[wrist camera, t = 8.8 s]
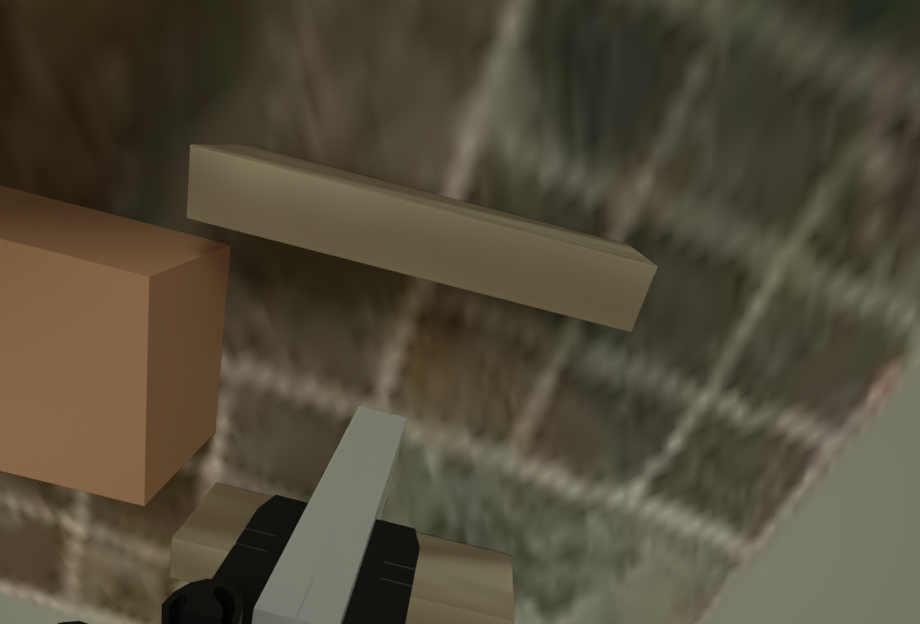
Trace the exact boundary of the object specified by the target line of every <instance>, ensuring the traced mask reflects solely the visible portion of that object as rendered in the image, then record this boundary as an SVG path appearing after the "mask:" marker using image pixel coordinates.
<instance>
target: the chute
mask: <svg viewBox="0 0 920 624" xmlns="http://www.w3.org/2000/svg"><path fill="white" fill-rule="evenodd" d="M187 218H189V219H193V220H197V221H200V222H204V223H208V224H212V225H216V226H220V227H224V228H228V229H232V230H235V231H239V232H243V233H247V234H251V235H255V236H259V237H263V238H267V239H271V240H274V241H278V242H282V243H286V244H290V245H294V246H298V247H302V248H306V249H309V250H313V251H317V252H321V253H325V254H329V255H333V256H337V257H341V258H344V259H348V260H352V261H356V262H360V263H364V264H368V265H372V266H376V267H380V268H383V269H387V270H391V271H395V272H399V273H403V274H407V275H411V276H415V277H418V278H422V279H426V280H430V281H434V282H438V283H442V284H446V285H450V286H453V287H457V288H461V289H465V290H469V291H473V292H477V293H481V294H485V295H489V296H492V297H496V298H500V299H504V300H508V301H512V302H516V303H520V304H524V305H527V306H531V307H535V308H539V309H543V310H547V311H551V312H555V313H559V314H562V315H566V316H570V317H574V318H578V319H582V320H586V321H590V322H594V323H598V324H601V325H605V326H609V327H613V328H617V329H621V330H625V331H629V332H631V331H632V329H633V327H634V324H635V322H636V319H637V317H638V314H639V312H640V309H641V307H642V304H643V302H644V299H645V297H646V294H647V292H648V289H649V287H650V284H651V282H652V279H653V277H654V274H655V272H656V269H657V267H658V266H657V265H655V264H654V263H653V262H651V261H650V260H649V259H647V258H646V257H645V256H643V255H642V254H640V253H639V252H638V251H636V250H635V249H634V248H632V247H631V246H630V245H628V244H625V243H621V242H617V241H613V240H609V239H605V238H602V237H598V236H594V235H590V234H586V233H582V232H579V231H575V230H571V229H567V228H563V227H559V226H556V225H552V224H548V223H544V222H540V221H536V220H532V219H529V218H525V217H521V216H517V215H513V214H509V213H506V212H502V211H498V210H494V209H490V208H486V207H483V206H479V205H475V204H471V203H467V202H463V201H460V200H456V199H452V198H448V197H444V196H440V195H437V194H433V193H429V192H425V191H421V190H417V189H413V188H410V187H406V186H402V185H398V184H394V183H390V182H387V181H383V180H379V179H375V178H371V177H367V176H364V175H360V174H356V173H352V172H348V171H344V170H341V169H337V168H333V167H329V166H325V165H321V164H318V163H314V162H310V161H306V160H302V159H298V158H294V157H291V156H287V155H283V154H279V153H275V152H271V151H268V150H264V149H260V148H256V147H252V146H248V145H190V157H189V178H188V200H187ZM271 498H272V497H271V496H267V495H263V494H259V493H255V492H251V491H247V490H243V489H239V488H234V487H230V486H226V485H222V484H218V483H216V484H215V486H214V487H213V488H212V489H211V490H210V492H209V493H208V494H207V495H206V497H205V498H204V499H203V500H202V501H201V503H200V504H199V505H198V506H197V508H196V509H195V510H194V511H193V512H192V514H191V515H190V516H189V517H188V519H187V520H186V521H185V522H184V524H183V525H182V526H181V527H180V528H179V530H178V531H177V532H176V533H175V535H174V536H173V537H172V542H171V564H170V578H175V579H179V580H183V581H187V582H195V581H199V580H203V579H212V578H213V576H214V575H215V573H216V572H217V570H218V569H219V567H220V565H221V564H222V562H223V561H224V559H225V558H226V556H227V555H228V553H229V552H230V550H231V548H232V547H233V545H235V544H236V541H237V539H238V538H239V536H240V535H241V533H242V532H243V530H245V528H246V525H247V524H248V522H249V521H250V519H251V518H252V516H253V515H254V513H255V511H256V510H257V508H259V507H260V506H261V505H263V504H264V503H265V502H267V501H268V500H269V499H271ZM416 534H417V538H418V542H419V546H420V550H419V556H418V561H417V566H416V570H415V576H414V581H413V586H412V592H411V597H410V602H409V607H408V612H407V617H406V623H405V624H514V622H515V619H514V596H513V574H512V556H511V555H507V554H502V553H498V552H494V551H490V550H486V549H482V548H478V547H474V546H470V545H466V544H462V543H458V542H454V541H450V540H446V539H442V538H438V537H433V536H429V535H425V534H421V533H417V532H416Z"/></svg>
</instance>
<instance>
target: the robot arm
mask: <svg viewBox="0 0 920 624" xmlns="http://www.w3.org/2000/svg"><path fill="white" fill-rule="evenodd" d="M406 421H407V418H406V417H402V416H398V415H394V414H390V413H386V412H383V411H379V410H375V409H371V408H367V407H363V406H359V407H358V409H357V410H356V412H355V414H354V416H353V418H352V420H351V422H350V424H349V426H348V428H347V430H346V432H345V434H344V435H343V437H342V439H341V441H340V443H339V445H338V447H337V449H336V451H335V453H334V455H333V457H332V459H331V461H330V462H329V464H328V466H327V468H326V470H325V472H324V474H323V476H322V478H321V480H320V482H319V484H318V486H317V487H316V489H315V491H314V493H313V495H312V497H311V499H310V501H309V503H306V502H302V501H298V500H294V499H290V498H286V497H283V496H279V495H275V496H274V497H272V498H271V499H269V500H268V501H267V502H265V503H264V504H263V505H261V506H260V507H259V508H257V510H256V511H255V513H254V515H253V516H252V518H251V519H250V521H249V522H248V524H247V525H246V528H245V530H243V532H242V533H241V535H240V536H239V538H238V539H237V541H236V544H235V545H233V547H232V548H231V550H230V552H229V553H228V555H227V556H226V558H225V559H224V561H223V562H222V564H221V565H220V567H219V569H218V570H217V572H216V573H215V575H214V576H213V578H212V579H203V580H199V581H195V582H191V583H189V584H187V585H185V586H183V587H182V588H180V589H178V590H176V591H175V592H174V593H173V594H172V595H171V596H170V597H169V598H168V599H167V600H166V601H165V602H164V603H163V604H162V624H405V623H406V617H407V612H408V607H409V602H410V597H411V592H412V586H413V581H414V576H415V570H416V566H417V561H418V556H419V550H420V546H419V542H418V538H417V534H416V530H415V529H414V528H410V527H406V526H402V525H398V524H394V523H390V522H386V521H382V520H380V519H381V516H382V513H383V509H384V506H385V503H386V500H387V497H388V493H389V490H390V487H391V483H392V479H393V474H394V470H395V466H396V462H397V458H398V454H399V450H400V446H401V442H402V437H403V433H404V429H405V425H406ZM58 624H87V623H84V622H81V621H74V622H62V623H58Z"/></svg>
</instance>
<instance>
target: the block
mask: <svg viewBox="0 0 920 624" xmlns="http://www.w3.org/2000/svg"><path fill="white" fill-rule="evenodd" d="M230 248H231V245H229V244H225V243H221V242H217V241H214V240H210V239H206V238H202V237H198V236H194V235H190V234H186V233H183V232H179V231H175V230H171V229H167V228H163V227H159V226H156V225H152V224H148V223H144V222H140V221H136V220H132V219H129V218H125V217H121V216H117V215H113V214H109V213H105V212H102V211H98V210H94V209H90V208H86V207H82V206H78V205H74V204H71V203H67V202H63V201H59V200H55V199H51V198H47V197H44V196H40V195H36V194H32V193H28V192H24V191H20V190H17V189H13V188H9V187H5V186H1V185H0V471H3V472H7V473H11V474H15V475H19V476H23V477H28V478H32V479H36V480H40V481H44V482H48V483H52V484H56V485H60V486H64V487H68V488H72V489H76V490H80V491H84V492H89V493H93V494H97V495H101V496H105V497H109V498H113V499H117V500H121V501H125V502H129V503H133V504H137V505H141V506H145V505H146V504H147V503H148V502H149V501H150V500H151V499H152V498H153V496H154V495H155V494H156V493H157V492H158V491H159V490H160V489H161V488H162V487H163V486H164V485H165V484H166V483H167V482H168V481H169V480H170V479H171V478H172V477H173V476H174V475H175V474H176V473H177V472H178V470H179V469H180V468H181V467H182V466H183V465H184V464H185V463H186V462H187V461H188V460H189V459H190V458H191V457H192V456H193V455H194V454H195V453H196V452H197V451H198V450H199V449H200V448H201V447H202V446H203V444H204V443H205V442H206V441H207V440H208V439H209V438H210V437H211V436H212V435H213V434H214V433H215V429H216V417H217V405H218V393H219V381H220V369H221V357H222V345H223V333H224V321H225V309H226V297H227V284H228V272H229V260H230Z"/></svg>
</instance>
